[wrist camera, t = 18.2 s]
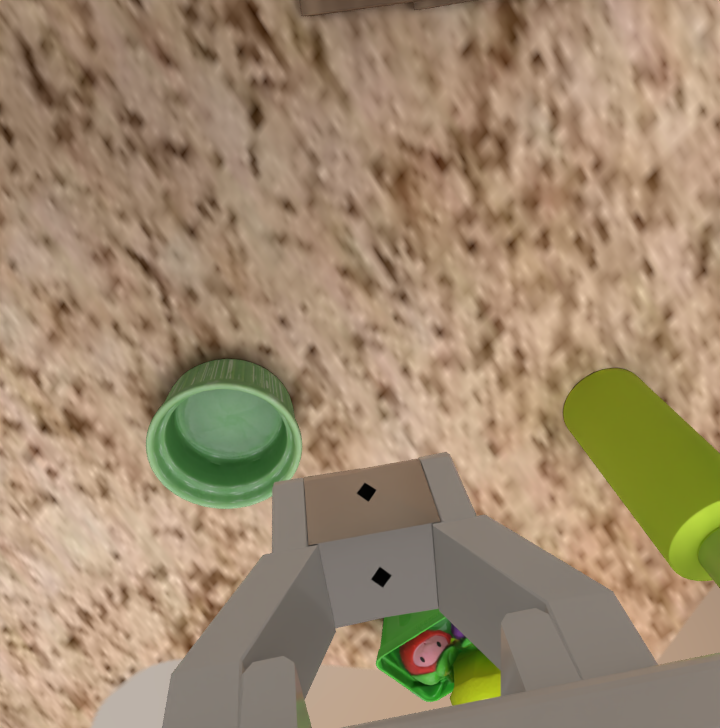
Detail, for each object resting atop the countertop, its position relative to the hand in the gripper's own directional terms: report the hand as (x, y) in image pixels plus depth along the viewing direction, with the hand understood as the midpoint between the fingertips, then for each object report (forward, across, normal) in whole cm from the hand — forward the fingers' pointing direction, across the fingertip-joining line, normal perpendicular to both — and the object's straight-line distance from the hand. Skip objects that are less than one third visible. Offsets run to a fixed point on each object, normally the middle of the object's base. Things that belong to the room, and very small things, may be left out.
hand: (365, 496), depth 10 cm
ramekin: (+26, +7, +13) cm, 30 cm away
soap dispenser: (+25, -18, +18) cm, 36 cm away
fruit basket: (+26, -7, +35) cm, 44 cm away
